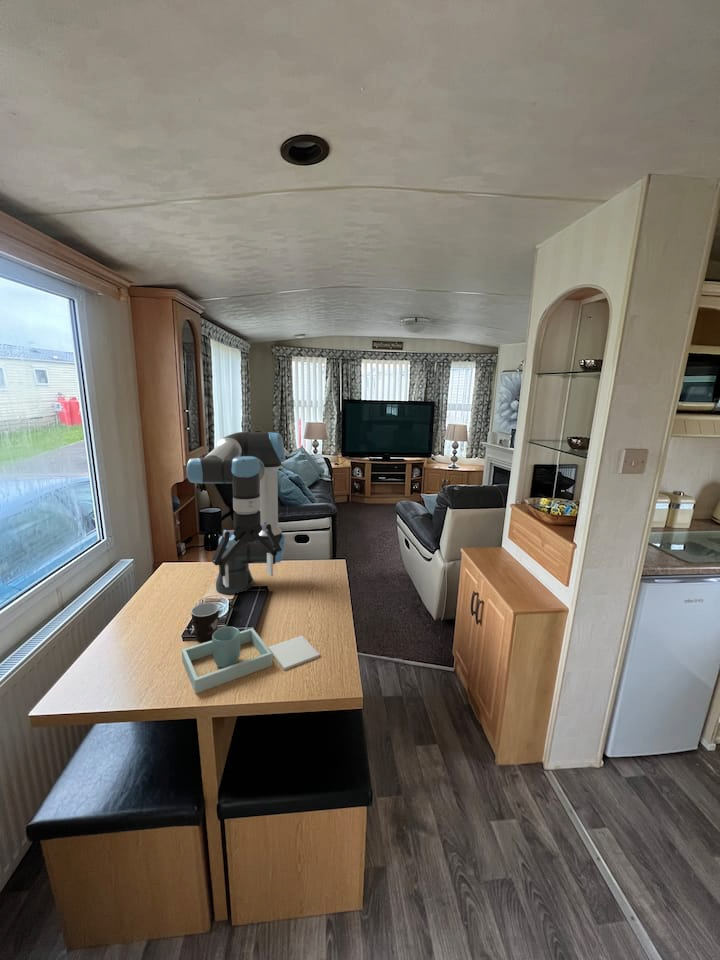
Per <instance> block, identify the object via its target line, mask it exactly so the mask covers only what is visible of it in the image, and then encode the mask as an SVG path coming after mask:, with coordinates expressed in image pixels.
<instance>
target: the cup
mask: <svg viewBox="0 0 720 960" xmlns="http://www.w3.org/2000/svg"><path fill="white" fill-rule="evenodd" d="M240 632H241V631H240V629H239V628H237V627H235V626H223V627H220V628H217V630H216V631H215V632H214V633H213V635H212V650H213V654H212V657H213V660H214V663H215V665H216V666H217V667H218V668H220V669H223V668H226V667H228V666H231V665H234V664H237V662H238V661H239V659H240V656H241V645H240Z"/></svg>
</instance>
